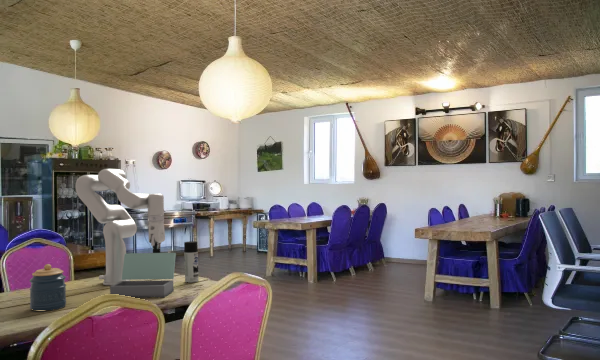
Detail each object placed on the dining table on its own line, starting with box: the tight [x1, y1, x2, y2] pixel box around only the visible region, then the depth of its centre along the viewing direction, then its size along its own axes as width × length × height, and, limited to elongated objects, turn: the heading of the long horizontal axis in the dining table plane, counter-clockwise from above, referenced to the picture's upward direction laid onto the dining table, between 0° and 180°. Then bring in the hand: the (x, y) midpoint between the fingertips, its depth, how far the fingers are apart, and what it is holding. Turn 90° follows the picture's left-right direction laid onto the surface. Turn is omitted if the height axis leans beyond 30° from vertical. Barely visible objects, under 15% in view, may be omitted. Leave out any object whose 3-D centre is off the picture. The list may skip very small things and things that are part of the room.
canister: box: [29, 263, 67, 311], centre depth 189 cm, size 13×13×18 cm
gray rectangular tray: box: [109, 279, 174, 299], centre depth 209 cm, size 24×12×5 cm, turn 87°
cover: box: [122, 252, 177, 281], centre depth 217 cm, size 24×12×1 cm
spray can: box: [183, 240, 200, 284], centre depth 236 cm, size 7×7×20 cm
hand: (156, 256), depth 227 cm, fingers closed
